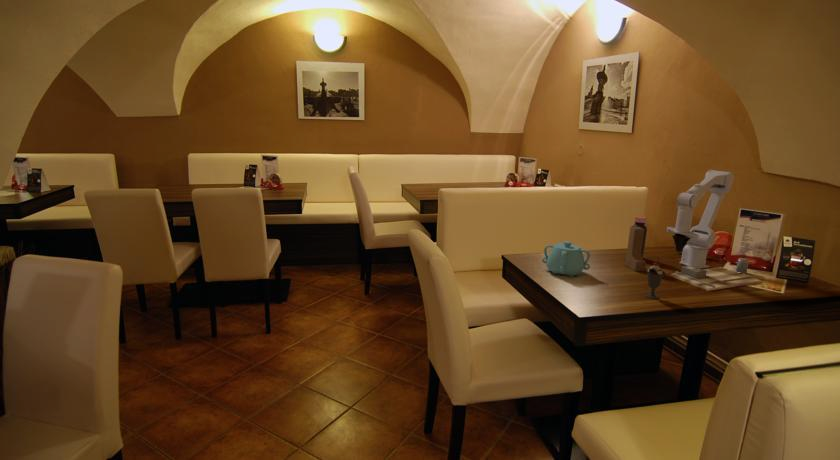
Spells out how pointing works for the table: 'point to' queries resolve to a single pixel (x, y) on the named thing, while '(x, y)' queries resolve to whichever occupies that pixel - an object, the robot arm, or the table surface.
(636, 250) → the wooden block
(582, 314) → the table surface
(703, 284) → the board
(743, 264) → the marker peg
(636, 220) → the bottle
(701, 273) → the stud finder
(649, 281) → the sundae
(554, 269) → the decorative pot
